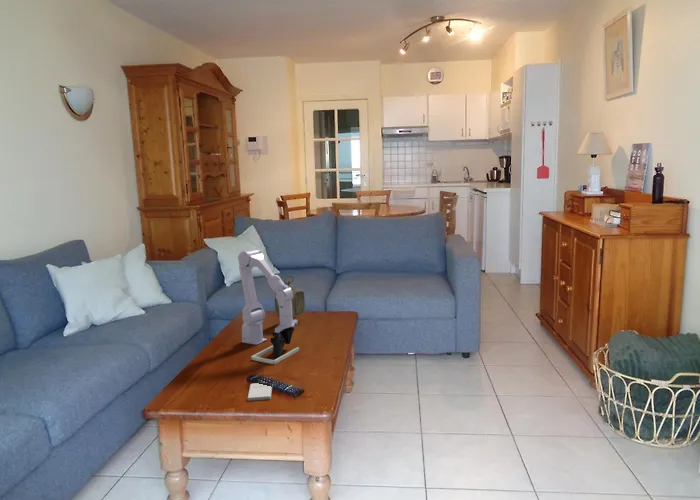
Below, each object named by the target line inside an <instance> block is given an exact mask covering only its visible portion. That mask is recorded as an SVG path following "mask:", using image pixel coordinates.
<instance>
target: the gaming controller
mask: <svg viewBox="0 0 700 500" xmlns="http://www.w3.org/2000/svg"><path fill="white" fill-rule="evenodd" d="M271 334H272V337H270V340H269V341H270V343H271V344H272V345H273V350H272V355H273V360H275V359H277V358H279V357H281V356H282V354H283V351H284V347H285V343H286V340H285V339H283V337H282V333H281V332H280V333H275V331H272V333H271Z"/></svg>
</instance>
